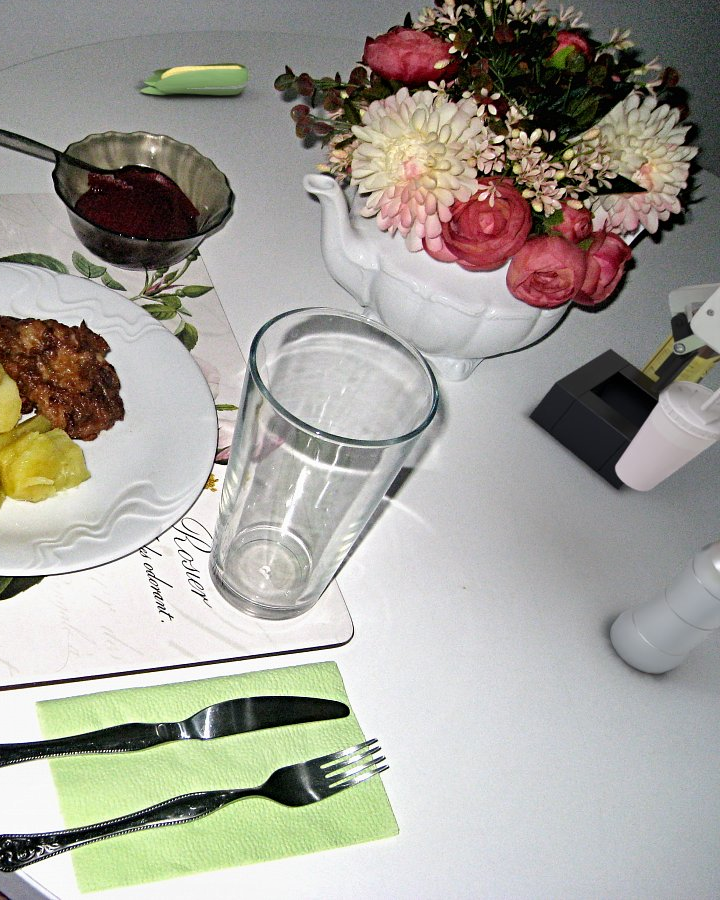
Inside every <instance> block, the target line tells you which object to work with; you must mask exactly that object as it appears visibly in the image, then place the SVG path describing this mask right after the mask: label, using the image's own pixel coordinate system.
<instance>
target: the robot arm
mask: <svg viewBox="0 0 720 900" xmlns="http://www.w3.org/2000/svg"><path fill="white" fill-rule="evenodd" d="M667 296H668V297H667V298H668V305H669V312H670V314H671V319H670V327H671V333H673V338H674V344H673V346H672V350H673V352H672V353H671V354H670V355H669V356H668V358H667V359H666V360H665V361H664V362H663V363H662V364H661V366H660V367H659V368H658V369H657V370H656V371H655V373H654V374H655V375H656V376H658V377H659V379H658V380H657V381H656V382H655V384H654V385H653V386H652V387H651V388H650V389H651V390H653V391H654V392H658V393H659V392H660V391H661V390H663V389H664V388H665V387H667V386H668V385H669V384H670V383H672V382H673V381H674V380H675V379H676V378H677V377H678V376H679V375H680V374H681V372H682V371H683V370H684V369H685V368H686V367H687V366H688V365H689V364H690V363H691V361H692V360H693V359H694V358H695V357H696V356H697V355H698V354H699V352H698V350H699V349H700V347H702V346H704V345H708V346H709V347H711V348H712V349H713V350H715V351H716V352H718V353H719V354H720V282H712V283H711V282H710V283H701V284H692V285H682V286H681V285H680V286H677V287H675V288H674V289H673V290H671V291H669V293H668V295H667ZM696 303H697V304H698V303H703V304H702V306H701V307H700V309H699V308H698V309H699V310H698V311H697V313H696V314H695V315H694V313H693V312H692V311H693V304H696Z"/></svg>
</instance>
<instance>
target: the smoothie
mask: <svg viewBox="0 0 720 900" xmlns="http://www.w3.org/2000/svg"><path fill="white" fill-rule="evenodd" d="M718 441H719V442H720V387H719V388H717V389H716V391H714V390H712V389H710V388H708V387H707V386H704V385H702V384H701V383H699V384H697V383H693V382H689V381H675V382H672V383H670V384H669V385H668V386H667V387H666V388H665V389H663V390H662V391H661V393H660V394H659V402H658V404H657V405H656V406H655V408H654V409H653V411H652V412H651V414H650V415H649V417H648V418H647V420H646V421H645V423H644V424H643V426H642V427H641V429H640V430H639V432H638V433H637V435H636V436H635V438H634V439H633V440H632V442H631V443H630V445H629V446H628V448H627V449H626V451H625V452H624V454H623V455H622V457H621V458H620V460H619V461H618V463H617V464H616V466H615V470H616V473H617V475H618V477H619V478H620V479H621V480H622V481H623V482H624V483H625V486H628V487H629V488H631V489H633V490H636V491H640V492H648V491H651V490H652V489H654V488H655V487H656V486H658V485H659V484H661V483H662V482H663V481H665V480H666V479H667V478H669V477H670V476H671V475H673V474H674V473H676V472H677V471H678V470H679V469H681V468H682V467H684V466H685V465H686V464H688V463H689V462H690V461H692V460H693V459H694V458H696V457H697V456H698V455H700V454H701V453H702V452H704V451H705V450H707V449H708V448H710V447H712V445H713V444H715V443H716V442H718Z"/></svg>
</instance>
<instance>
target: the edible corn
mask: <svg viewBox="0 0 720 900" xmlns="http://www.w3.org/2000/svg"><path fill="white" fill-rule="evenodd" d="M152 73H153V74H154V75H152V76H148V77H147V78H146V79H145V80H144V81H143V83H144V84H146V85H148V86H147V87H144V88H142V89H141V90H140V92H141V93H144V94H150V95H157V96H158V95H159V96H164V95H200V96H201V95H202V96H238V95H239V94H240V93H242V92H243V91H244V90H246V88H247V86H248V84H247V85H246V86H245V87H243V88H237V89H191V88H205V87H226V86H227V87H229V86H238V85H243V84H245V83H246V82H247V81H248V78H250V79H251V77H252V76H251V73H249V68H248V67H246V66H245V65H244V64H242V63H236V62H220V63H219V62H218V63H209V64H199V65H198V64H197V65H184V66H183V65H182V66H177V67H169V68H159V69H156V70H153V71H152ZM156 76H157V77H156ZM248 82H249V81H248ZM187 88H190V89H187Z"/></svg>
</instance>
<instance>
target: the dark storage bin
mask: <svg viewBox="0 0 720 900" xmlns="http://www.w3.org/2000/svg"><path fill="white" fill-rule="evenodd" d="M640 370H641V369H639V368H638V367H636V366H635V365H633V364H632V363H631V362H629V361H628V360H627V359H625V358H624V357H623V356H622V355H620V354H619V353H617V352H616V351H615V350H614V349H612V348H609V349H607V350H606V351H604V352H602V353H601V354H599V355H598V356H596V357H594V358H593V359H591V360H589V361H588V362H586V363H584V364H582V365H581V366H580V367H578V368H577V369H575V370H573V371H572V372H570V373H568V374H567V375H565V376H564V377H562V378H560V379H558V380H557V381H555V383H554V384H552V386H551V388H550V389H549V390H548V391H547V393H546V394H545V395H544V396H543V398H542V399H541V400H540V401H539V403H538V404H537V405H536V407H535V408H534V409H533V411H532V412H531V413H530V414H529V415H528V418H529V419H530V420H532V421H533V422H534V423H535V424H537V426H539V427H540V428H541V429H543V430H544V432H546V433H548V434H549V435H550V436H551V437H552V438H554V439H555V441H557V442H558V443H560V444H561V445H562V446H563V447H564V448H565V449H567V450H568V451H569V452H570V453H572V454H573V455H574V456H575V457H576V458H578V459H579V460H580V461H581V462H583V463H584V464H585V465H586V466H587V467H589V468H590V469H591V470H592V471H594V472H595V473H596V474H597V475H598V476H599V477H601V478H602V479H603V480H605V481H606V482H607V483H608V484H610V485H611V486H612V487H613V488H614V489H615V490H616V491H619V490H620V489H622V488H623V487H624V486H626V484H625V483H624V482H623V481H622V480H621V479H620V478H619V477H618V475H617V473H616V470H615V466H616V464H617V463H618V461H619V460H620V458H621V457H622V455H623V454H624V452H625V451H626V449H627V448H628V446H629V445H630V443H631V442H632V440H633V439H634V438H635V436H636V435H637V433H638V432H639V430H640V429H641V427H642V426H643V424H644V423H645V421H646V420H647V418H648V417H649V415H650V414H651V412H652V411H653V409H654V408H655V406H656V405H657V404H658V402H659V394H660V393H661V391H662V390H661V391H660V392H659V393H658V392H654V391H653V390H651V389H650V388H651V387H652V386H653V385H654V384H655V381H654V380H652V379H651V378H650V377H648V376H647V375H646V374H644V373H643V372H642V371H640Z"/></svg>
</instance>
